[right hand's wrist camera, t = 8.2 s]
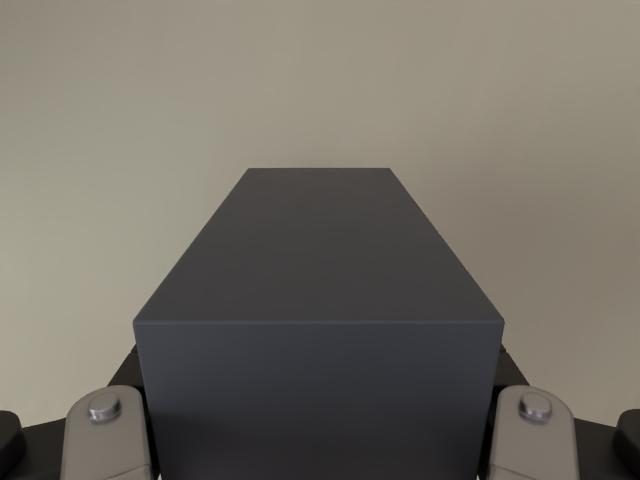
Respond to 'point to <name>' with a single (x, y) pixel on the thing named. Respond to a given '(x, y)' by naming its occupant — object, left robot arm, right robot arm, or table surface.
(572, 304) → the table surface
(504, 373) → the right robot arm
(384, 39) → the table surface
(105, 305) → the table surface
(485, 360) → the box
